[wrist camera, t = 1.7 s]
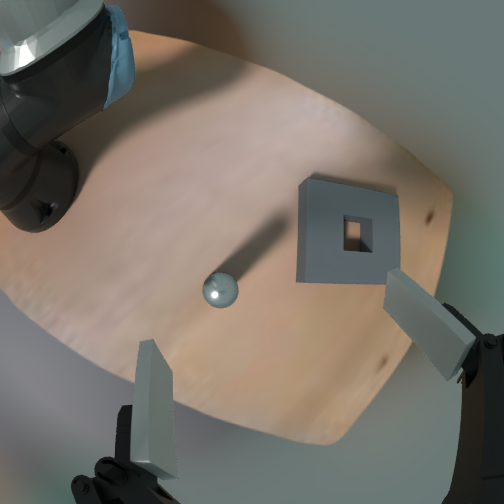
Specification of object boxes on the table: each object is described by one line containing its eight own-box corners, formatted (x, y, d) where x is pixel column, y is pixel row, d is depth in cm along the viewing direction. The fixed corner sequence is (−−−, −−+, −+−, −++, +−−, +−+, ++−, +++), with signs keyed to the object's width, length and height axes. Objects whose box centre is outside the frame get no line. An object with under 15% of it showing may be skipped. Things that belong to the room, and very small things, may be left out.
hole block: (296, 282, 38) (304, 282, 34) (298, 185, 39) (306, 178, 35) (386, 284, 40) (399, 284, 37) (385, 200, 41) (397, 195, 38)
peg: (203, 296, 35) (201, 307, 23) (204, 272, 36) (203, 271, 24) (227, 298, 36) (237, 309, 24) (228, 274, 36) (239, 273, 24)
